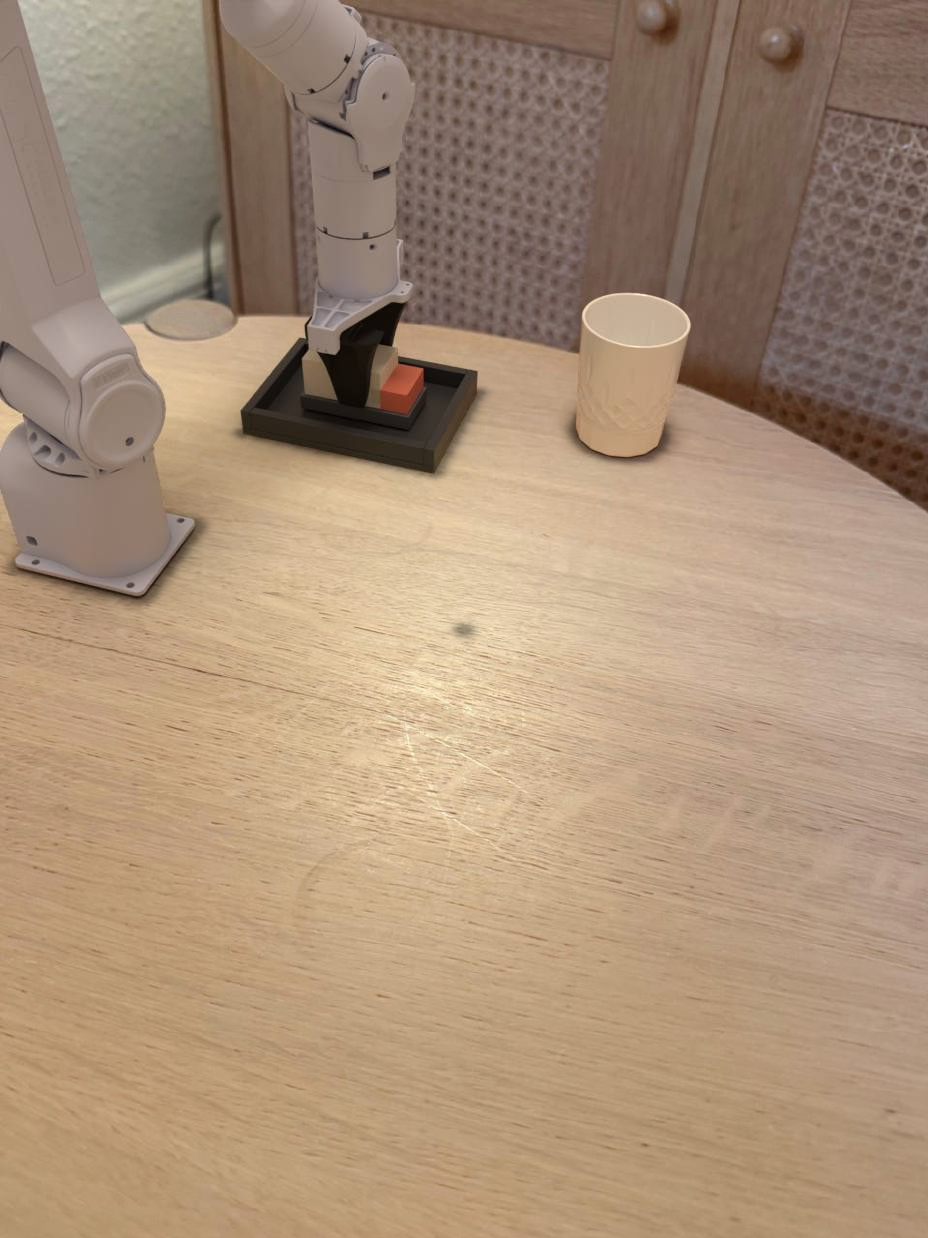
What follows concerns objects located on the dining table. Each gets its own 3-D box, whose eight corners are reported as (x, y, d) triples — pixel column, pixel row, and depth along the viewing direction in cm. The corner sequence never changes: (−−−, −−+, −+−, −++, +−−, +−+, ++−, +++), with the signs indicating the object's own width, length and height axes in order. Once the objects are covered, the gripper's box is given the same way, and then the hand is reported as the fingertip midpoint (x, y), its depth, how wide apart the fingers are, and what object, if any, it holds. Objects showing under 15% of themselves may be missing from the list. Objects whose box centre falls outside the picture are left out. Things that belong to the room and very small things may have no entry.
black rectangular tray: (242, 433, 84) (239, 410, 83) (301, 358, 92) (299, 336, 91) (433, 473, 81) (434, 450, 80) (476, 392, 89) (478, 370, 88)
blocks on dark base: (300, 408, 85) (296, 359, 82) (322, 378, 88) (319, 330, 85) (408, 430, 84) (408, 380, 81) (427, 399, 87) (427, 351, 84)
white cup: (684, 425, 87) (708, 312, 80) (641, 475, 82) (662, 358, 75) (597, 394, 90) (612, 282, 82) (550, 440, 85) (562, 325, 78)
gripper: (373, 277, 70) (378, 450, 79) (441, 188, 80) (439, 351, 89) (272, 259, 71) (289, 431, 81) (352, 174, 81) (358, 336, 91)
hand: (362, 388), depth 85 cm, fingers closed on blocks on dark base, 4 cm apart
